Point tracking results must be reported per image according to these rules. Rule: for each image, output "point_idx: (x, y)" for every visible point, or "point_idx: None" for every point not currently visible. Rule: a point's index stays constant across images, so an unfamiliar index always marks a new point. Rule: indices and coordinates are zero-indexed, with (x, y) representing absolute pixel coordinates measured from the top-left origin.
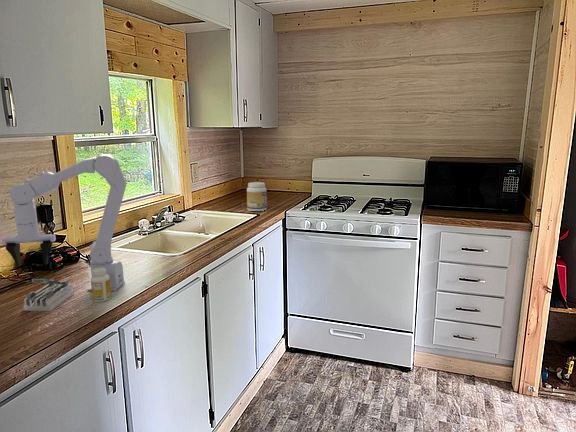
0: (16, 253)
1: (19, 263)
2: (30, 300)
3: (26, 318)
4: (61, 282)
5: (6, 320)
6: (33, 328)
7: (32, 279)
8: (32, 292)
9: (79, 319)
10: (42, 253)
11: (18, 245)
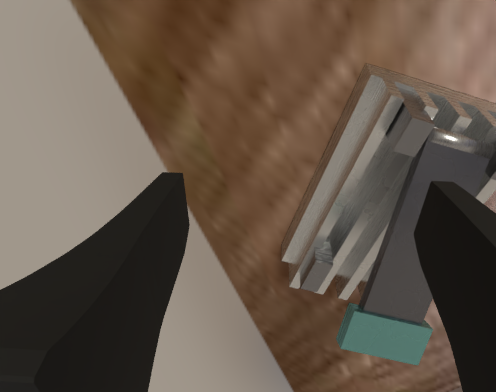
0: (147, 350)
1: (182, 234)
2: (318, 290)
3: (310, 299)
4: (480, 175)
5: (245, 297)
6: (348, 353)
7: (341, 346)
8: (322, 276)
9: None
10: (457, 367)
11: (91, 372)
